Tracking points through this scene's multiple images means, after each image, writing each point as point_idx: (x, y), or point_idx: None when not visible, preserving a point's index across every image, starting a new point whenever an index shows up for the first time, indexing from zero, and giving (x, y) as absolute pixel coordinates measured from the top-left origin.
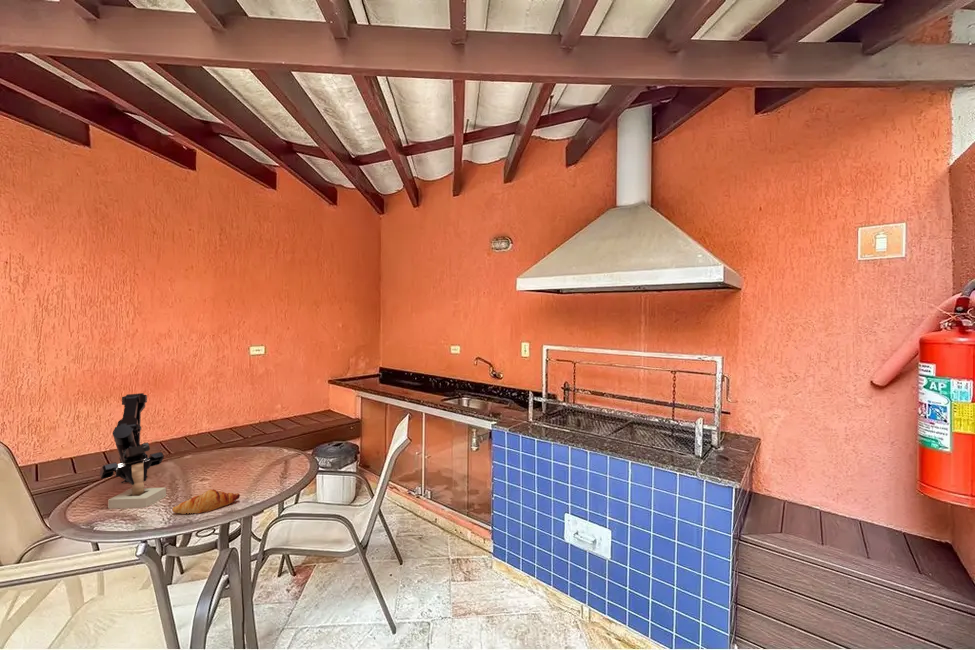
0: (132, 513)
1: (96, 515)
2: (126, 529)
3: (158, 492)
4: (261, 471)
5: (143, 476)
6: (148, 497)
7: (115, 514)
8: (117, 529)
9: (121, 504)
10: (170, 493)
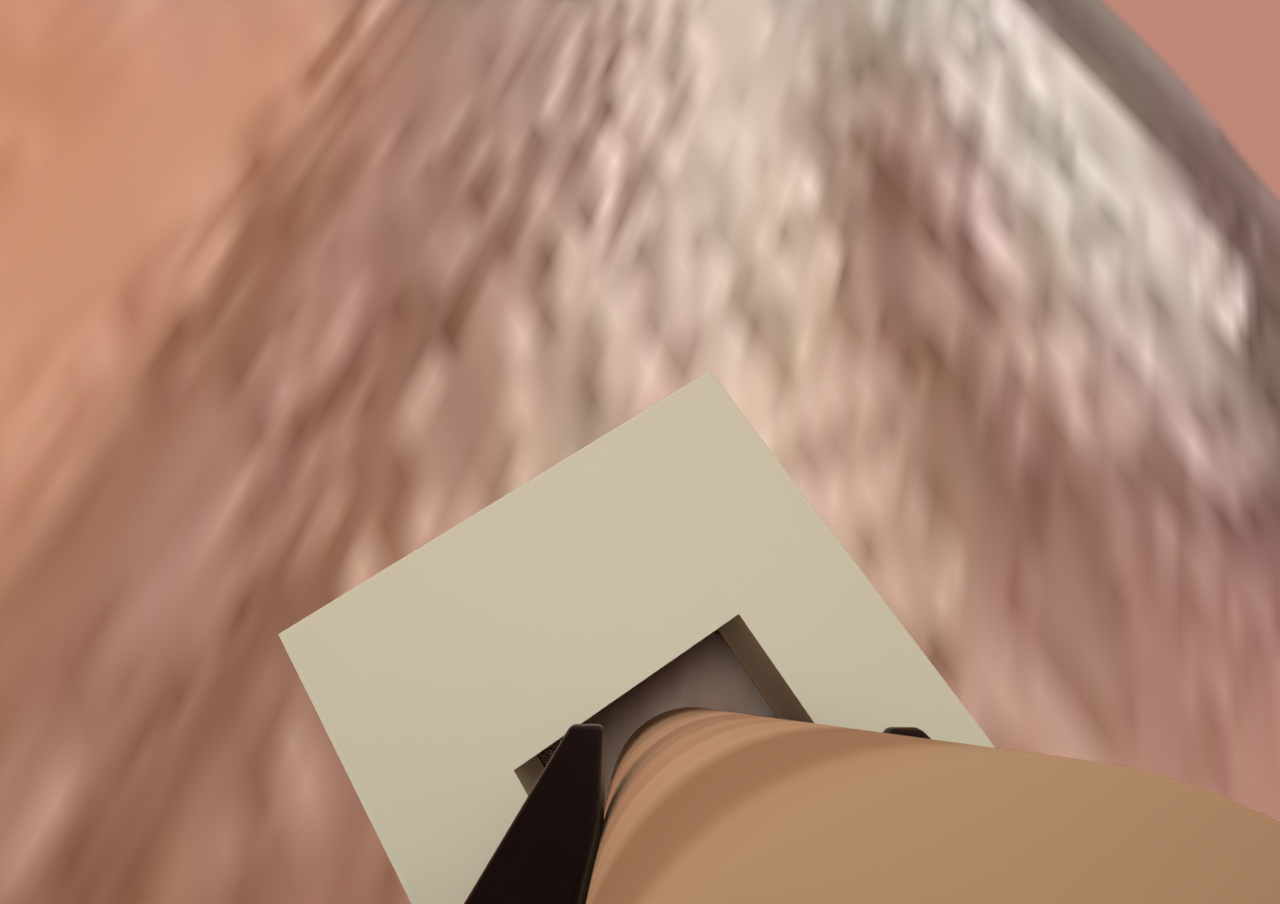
0: (864, 376)
1: (1229, 782)
2: (996, 7)
3: (465, 528)
4: None
5: (617, 807)
6: (666, 397)
7: (1022, 549)
8: (1059, 74)
9: None
10: (247, 722)
